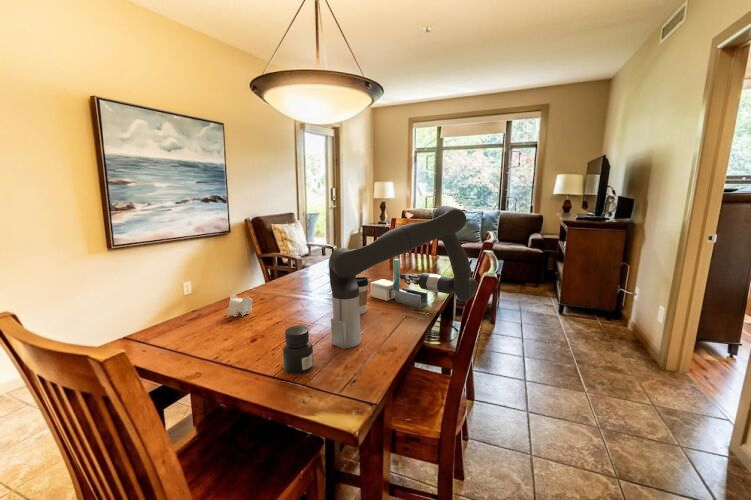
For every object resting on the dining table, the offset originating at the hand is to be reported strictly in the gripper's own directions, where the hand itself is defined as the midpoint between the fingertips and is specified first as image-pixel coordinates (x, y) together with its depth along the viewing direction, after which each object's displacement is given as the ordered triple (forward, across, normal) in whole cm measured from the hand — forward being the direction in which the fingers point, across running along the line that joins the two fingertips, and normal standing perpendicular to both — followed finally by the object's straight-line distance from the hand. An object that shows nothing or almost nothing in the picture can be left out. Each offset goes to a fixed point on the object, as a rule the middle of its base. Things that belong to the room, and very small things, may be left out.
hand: (400, 276), depth 159 cm
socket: (+10, 0, +12) cm, 16 cm away
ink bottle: (-14, +68, +12) cm, 70 cm away
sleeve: (-6, 0, +12) cm, 13 cm away
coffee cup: (+5, +23, +12) cm, 27 cm away
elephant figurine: (+42, +59, +12) cm, 73 cm away
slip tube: (+6, 0, +11) cm, 12 cm away
